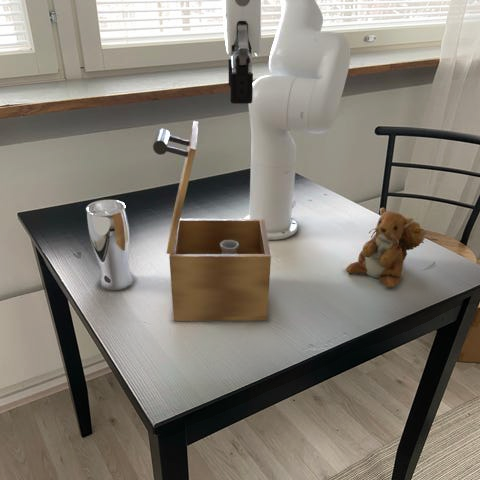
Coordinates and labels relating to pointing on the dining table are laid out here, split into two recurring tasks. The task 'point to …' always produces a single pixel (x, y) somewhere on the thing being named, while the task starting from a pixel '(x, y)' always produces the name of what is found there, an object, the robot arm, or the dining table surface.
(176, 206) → the lid
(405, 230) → the stuffed squirrel
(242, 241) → the chest
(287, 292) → the dining table surface
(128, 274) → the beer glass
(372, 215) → the dining table surface
